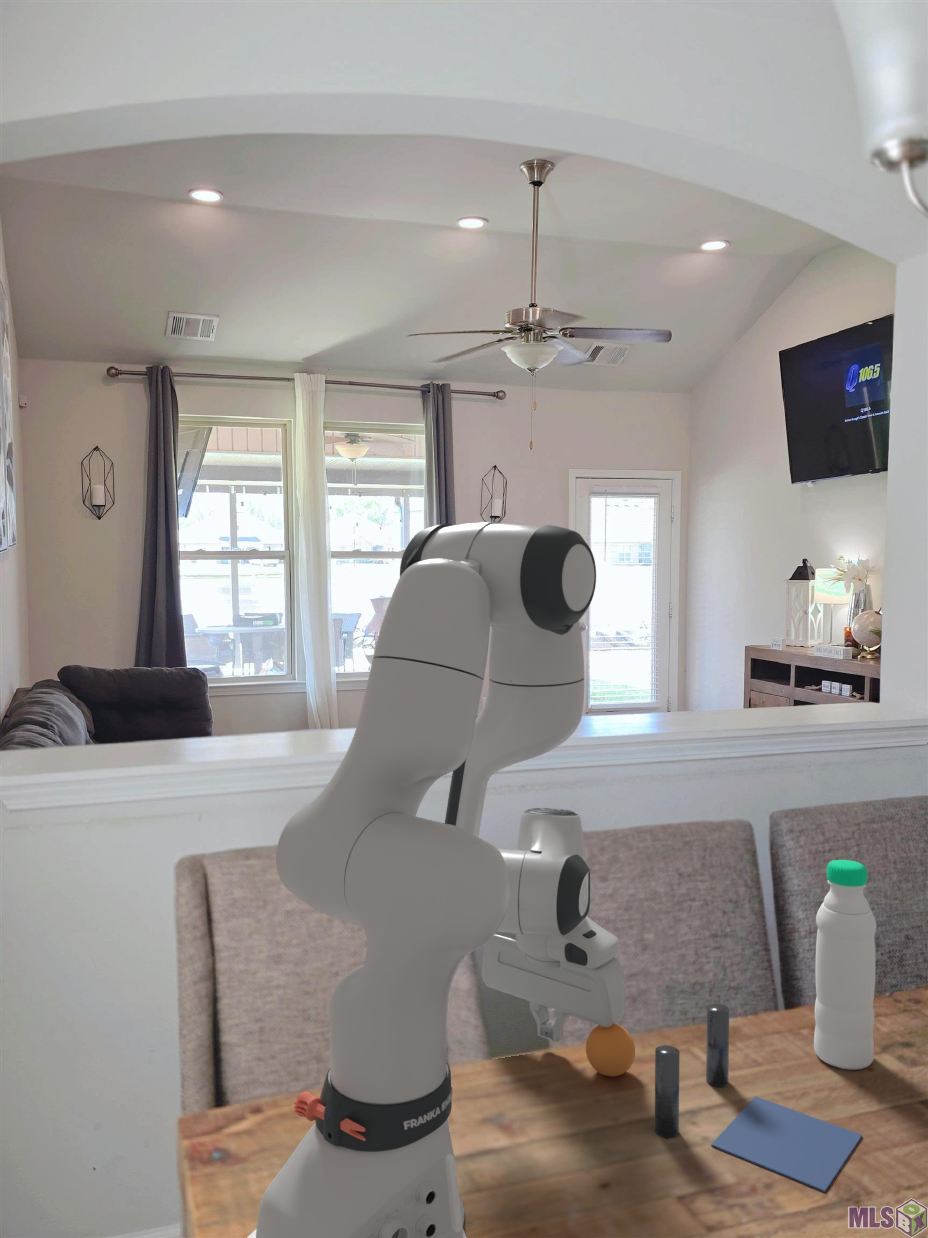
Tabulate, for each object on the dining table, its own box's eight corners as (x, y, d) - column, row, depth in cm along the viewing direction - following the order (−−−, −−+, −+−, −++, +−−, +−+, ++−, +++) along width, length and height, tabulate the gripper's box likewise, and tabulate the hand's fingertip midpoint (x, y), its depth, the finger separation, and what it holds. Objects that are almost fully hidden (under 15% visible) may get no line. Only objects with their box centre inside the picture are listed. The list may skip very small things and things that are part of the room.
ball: (619, 1092, 112) (619, 1042, 111) (576, 1075, 115) (576, 1027, 115) (643, 1071, 116) (644, 1024, 116) (601, 1055, 120) (602, 1009, 120)
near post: (672, 1141, 102) (672, 1060, 102) (650, 1132, 104) (651, 1052, 103) (682, 1130, 104) (683, 1050, 104) (661, 1121, 106) (662, 1043, 105)
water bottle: (879, 1075, 115) (883, 874, 114) (818, 1069, 117) (822, 870, 116) (866, 1047, 122) (870, 857, 121) (809, 1041, 124) (812, 853, 122)
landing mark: (824, 1192, 93) (824, 1190, 93) (711, 1146, 101) (711, 1144, 101) (862, 1136, 103) (862, 1135, 103) (755, 1098, 110) (755, 1096, 110)
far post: (722, 1089, 112) (723, 1016, 112) (702, 1082, 114) (703, 1009, 113) (731, 1080, 114) (732, 1008, 114) (711, 1073, 116) (712, 1002, 115)
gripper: (471, 920, 125) (472, 1022, 126) (606, 960, 112) (605, 1073, 113) (500, 907, 130) (500, 1005, 130) (632, 944, 117) (631, 1052, 118)
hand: (550, 1037), depth 121 cm, fingers closed
